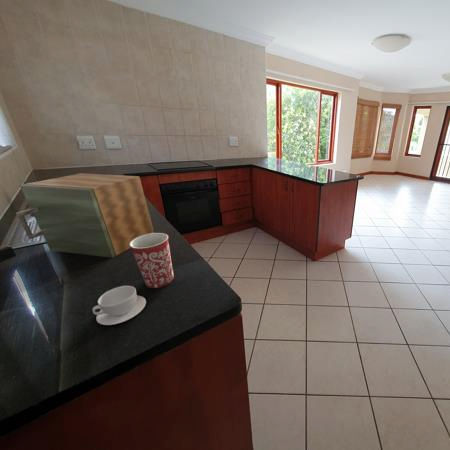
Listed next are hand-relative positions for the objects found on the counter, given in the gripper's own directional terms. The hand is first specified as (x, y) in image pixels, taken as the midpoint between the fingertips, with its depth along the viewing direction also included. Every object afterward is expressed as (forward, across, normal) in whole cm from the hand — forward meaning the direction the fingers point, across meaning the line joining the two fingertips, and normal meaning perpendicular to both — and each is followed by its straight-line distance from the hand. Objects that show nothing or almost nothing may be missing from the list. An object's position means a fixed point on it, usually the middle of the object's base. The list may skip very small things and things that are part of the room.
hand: (11, 251), depth 63 cm
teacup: (-4, +35, -11) cm, 37 cm away
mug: (+10, +35, -11) cm, 38 cm away
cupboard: (+27, -2, -11) cm, 29 cm away
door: (+14, -2, -10) cm, 18 cm away
